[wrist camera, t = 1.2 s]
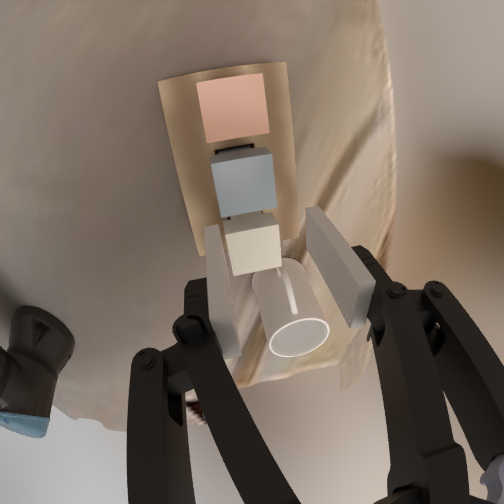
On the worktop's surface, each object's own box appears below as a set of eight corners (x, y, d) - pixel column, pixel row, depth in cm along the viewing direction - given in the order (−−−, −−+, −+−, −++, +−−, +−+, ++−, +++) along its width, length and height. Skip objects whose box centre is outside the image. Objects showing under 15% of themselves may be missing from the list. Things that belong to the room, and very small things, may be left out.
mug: (245, 244, 38) (262, 307, 29) (304, 233, 39) (338, 290, 29) (254, 303, 45) (268, 363, 36) (304, 292, 46) (328, 349, 36)
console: (199, 234, 36) (199, 256, 32) (164, 81, 25) (157, 81, 21) (287, 217, 37) (299, 236, 33) (273, 64, 25) (285, 61, 21)
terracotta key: (206, 128, 25) (206, 143, 19) (198, 83, 22) (196, 82, 17) (254, 120, 25) (269, 133, 20) (248, 75, 22) (262, 73, 17)
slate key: (217, 187, 29) (221, 217, 23) (209, 144, 26) (210, 164, 20) (261, 179, 29) (277, 207, 23) (256, 136, 26) (271, 153, 21)
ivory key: (227, 238, 33) (233, 276, 27) (219, 201, 30) (224, 234, 24) (267, 230, 33) (281, 266, 27) (263, 193, 30) (278, 224, 24)
